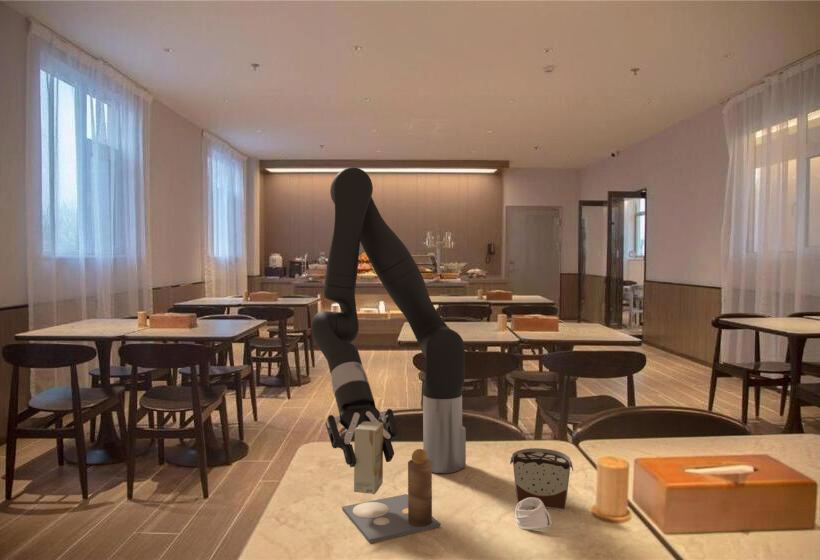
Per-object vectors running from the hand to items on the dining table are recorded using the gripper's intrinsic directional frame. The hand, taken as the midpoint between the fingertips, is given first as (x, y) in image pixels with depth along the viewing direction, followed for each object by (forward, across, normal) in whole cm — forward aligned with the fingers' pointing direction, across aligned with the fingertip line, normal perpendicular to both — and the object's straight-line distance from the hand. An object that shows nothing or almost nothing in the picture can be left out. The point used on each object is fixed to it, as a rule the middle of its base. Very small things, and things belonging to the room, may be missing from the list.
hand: (371, 462), depth 110 cm
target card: (+9, +3, +6) cm, 11 cm away
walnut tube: (+12, +7, +2) cm, 14 cm away
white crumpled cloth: (+19, +26, -4) cm, 32 cm away
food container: (+13, +34, +1) cm, 36 cm away
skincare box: (+3, 0, +5) cm, 6 cm away
